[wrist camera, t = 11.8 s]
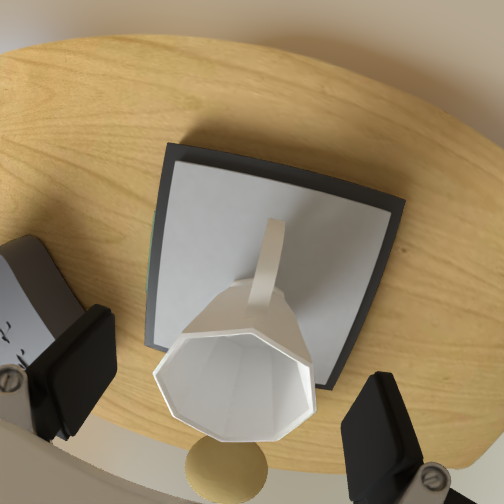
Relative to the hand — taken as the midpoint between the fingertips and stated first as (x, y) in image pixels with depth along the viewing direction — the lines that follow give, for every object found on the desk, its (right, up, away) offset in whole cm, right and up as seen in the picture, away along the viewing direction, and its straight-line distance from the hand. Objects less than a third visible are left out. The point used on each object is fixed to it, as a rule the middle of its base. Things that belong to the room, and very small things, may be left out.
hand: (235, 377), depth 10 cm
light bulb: (-1, -10, +16) cm, 19 cm away
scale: (+1, +3, +11) cm, 12 cm away
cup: (+1, +2, +9) cm, 9 cm away
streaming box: (-21, -2, +15) cm, 27 cm away
